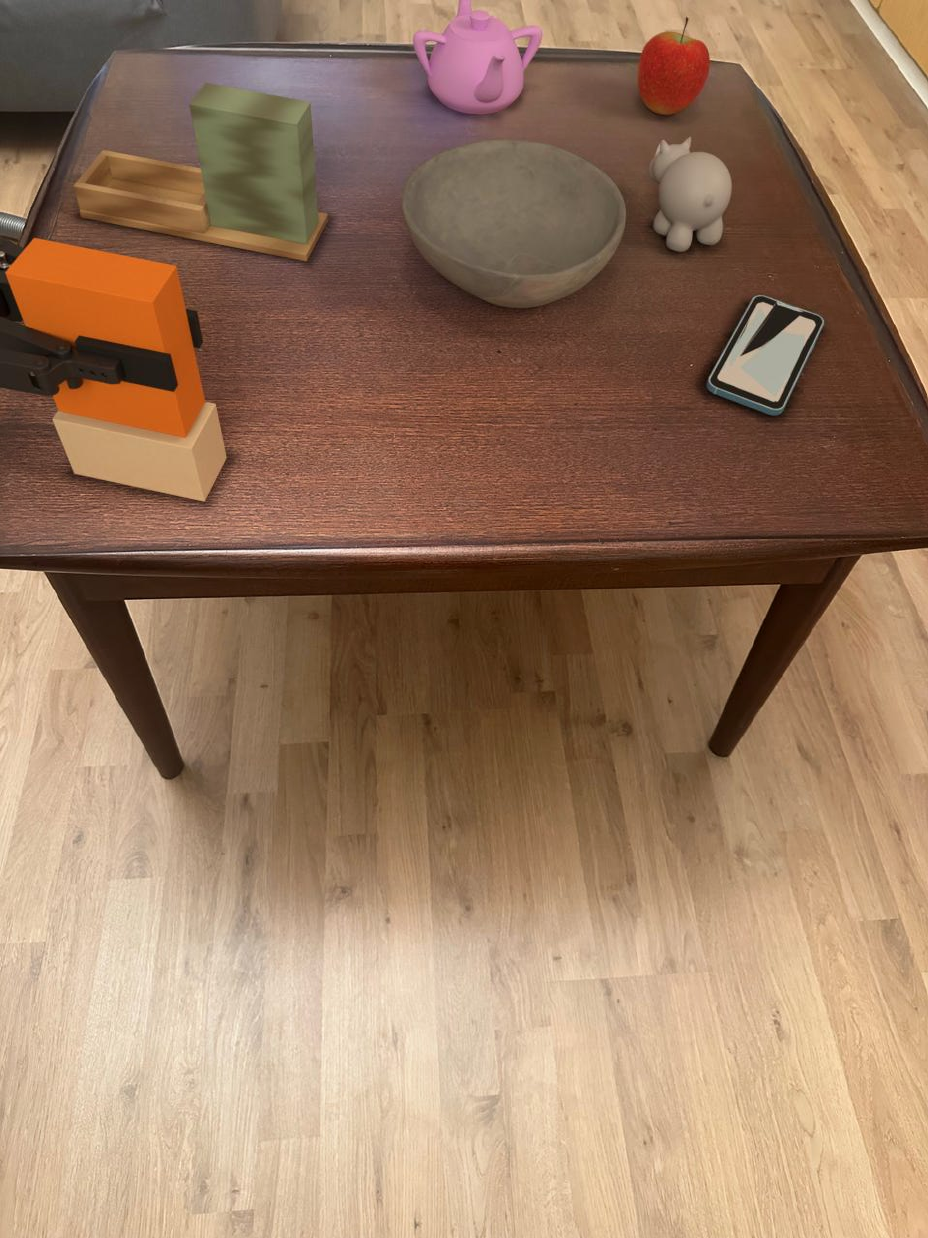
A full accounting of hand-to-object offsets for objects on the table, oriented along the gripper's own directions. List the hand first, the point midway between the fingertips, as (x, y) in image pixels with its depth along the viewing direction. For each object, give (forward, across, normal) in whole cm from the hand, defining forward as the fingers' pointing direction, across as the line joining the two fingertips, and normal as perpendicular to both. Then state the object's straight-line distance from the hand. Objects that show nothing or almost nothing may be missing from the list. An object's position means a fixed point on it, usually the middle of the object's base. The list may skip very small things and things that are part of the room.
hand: (184, 350), depth 65 cm
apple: (+30, -71, -13) cm, 78 cm away
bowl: (+18, -34, -13) cm, 40 cm away
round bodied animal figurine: (+33, -48, -13) cm, 60 cm away
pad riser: (-5, 0, -13) cm, 14 cm away
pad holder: (-13, -33, -13) cm, 38 cm away
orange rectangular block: (-5, 0, -7) cm, 9 cm away
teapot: (+7, -66, -13) cm, 68 cm away
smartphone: (+44, -28, -13) cm, 54 cm away
